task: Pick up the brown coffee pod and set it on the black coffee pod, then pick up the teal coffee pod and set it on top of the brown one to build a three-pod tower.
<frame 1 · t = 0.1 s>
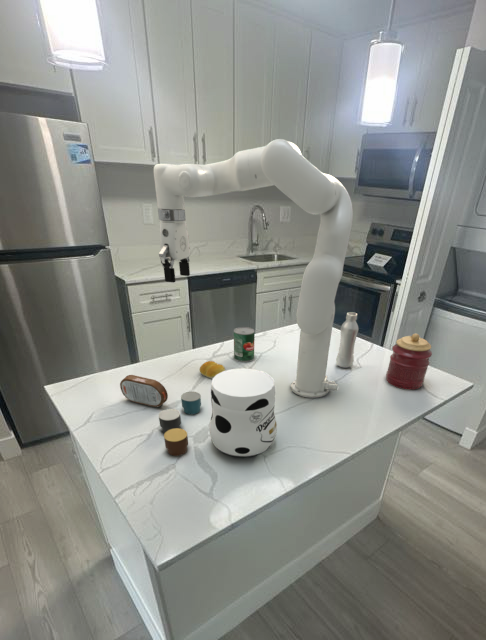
hand: (178, 278, 117), 31 cm above the counter, tool pointing down, fingers open, 9 cm apart
plastic bottle: (343, 366, 142), on the counter
black pod: (171, 429, 103), on the counter
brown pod: (177, 450, 95), on the counter
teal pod: (192, 410, 112), on the counter
bread roll: (212, 374, 133), on the counter
kitchen canister: (403, 382, 133), on the counter
canned tomato: (244, 358, 145), on the counter
milk container: (243, 443, 99), on the counter
tin: (145, 403, 114), on the counter
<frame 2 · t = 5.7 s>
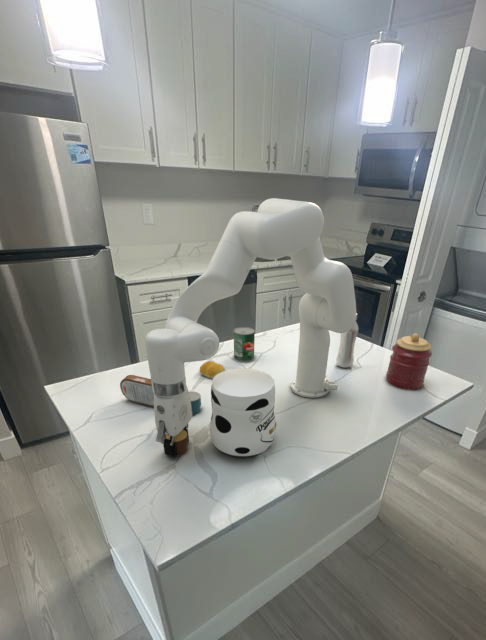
hand: (177, 447, 95), 1 cm above the counter, tool pointing down, fingers closed on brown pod, 5 cm apart
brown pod: (177, 450, 95), on the counter, touching gripper
everything else where it was.
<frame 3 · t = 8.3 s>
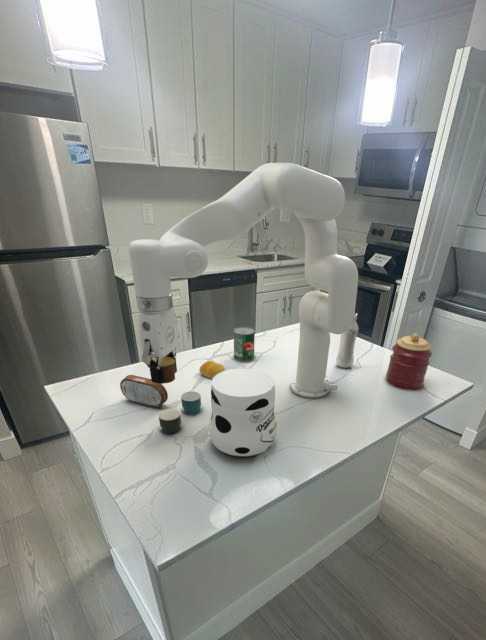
hand: (164, 376, 92), 17 cm above the counter, tool pointing down, fingers closed on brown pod, 5 cm apart
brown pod: (165, 378, 92), point 16 cm above the counter, touching gripper
everything else where it was.
when the fingers open (5 cm above the counter, at t = 11.3 s): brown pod stays where it is, resting on black pod.
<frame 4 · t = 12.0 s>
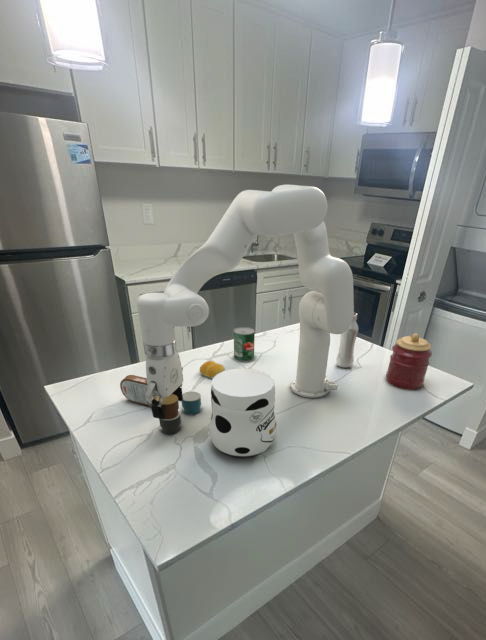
hand: (168, 408, 99), 7 cm above the counter, tool pointing down, fingers open, 9 cm apart
black pod: (171, 429, 103), on the counter, touching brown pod
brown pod: (168, 414, 100), point 5 cm above the counter, touching black pod
everything else where it was.
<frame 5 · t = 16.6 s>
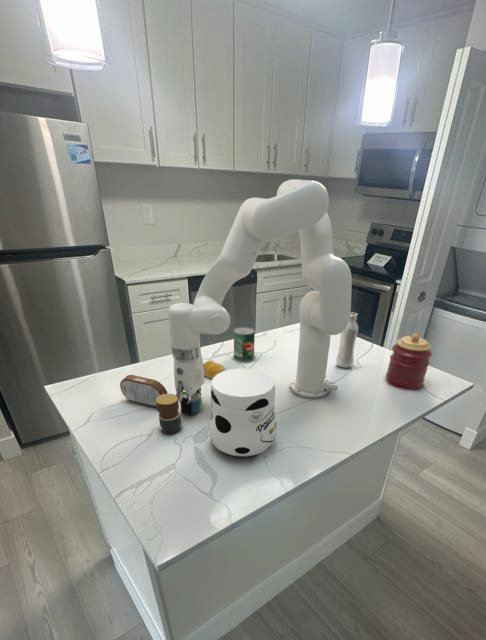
hand: (191, 408, 111), 1 cm above the counter, tool pointing down, fingers closed on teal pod, 5 cm apart
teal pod: (192, 410, 112), on the counter, touching gripper
everything else where it was.
when the fingers open (10 cm above the counter, at t = 22.5 s): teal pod stays where it is, resting on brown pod.
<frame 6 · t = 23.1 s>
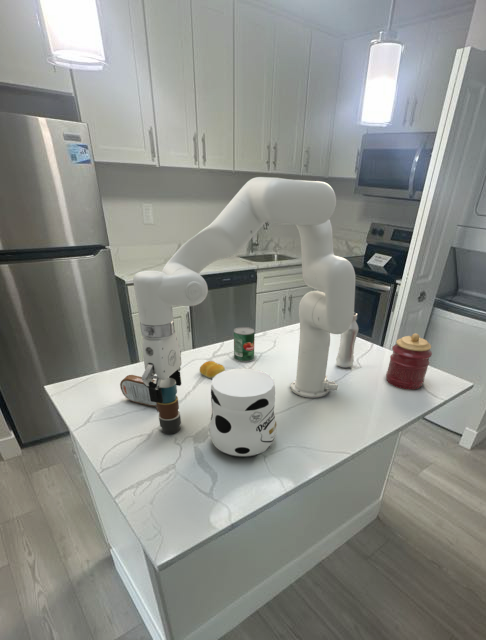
hand: (166, 392, 97), 11 cm above the counter, tool pointing down, fingers open, 9 cm apart
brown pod: (168, 414, 100), point 5 cm above the counter, touching black pod, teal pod
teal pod: (166, 398, 97), point 10 cm above the counter, touching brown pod
everything else where it was.
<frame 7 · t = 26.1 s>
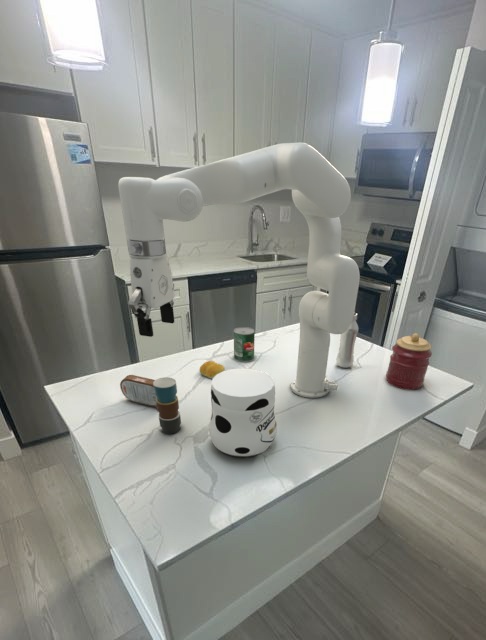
hand: (157, 328, 87), 28 cm above the counter, tool pointing down, fingers open, 9 cm apart
nothing on the counter moved.
at the end: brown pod 0.1 cm off-centre on the black pod, point 4.8 cm above the black pod's base; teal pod 0.0 cm off-centre on the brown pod, point 4.8 cm above the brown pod's base; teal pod tilted 0° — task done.
